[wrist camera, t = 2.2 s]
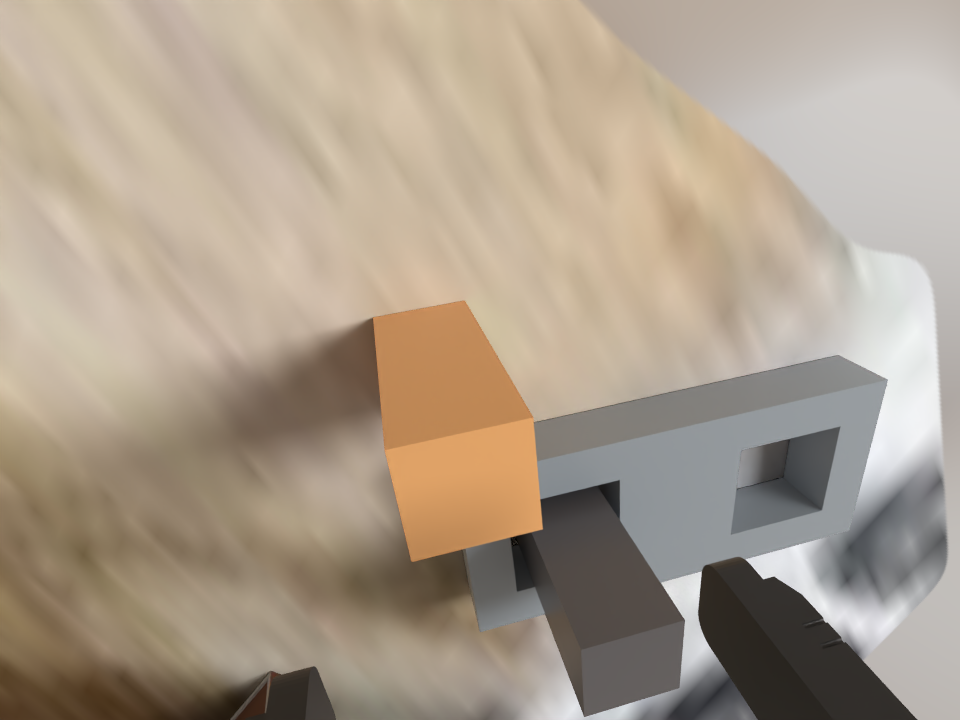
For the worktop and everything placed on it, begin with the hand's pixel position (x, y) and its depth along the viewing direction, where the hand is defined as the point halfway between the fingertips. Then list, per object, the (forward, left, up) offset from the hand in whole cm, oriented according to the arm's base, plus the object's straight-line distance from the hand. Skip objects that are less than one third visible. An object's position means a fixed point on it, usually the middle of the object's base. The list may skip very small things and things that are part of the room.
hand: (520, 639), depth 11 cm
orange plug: (0, 0, -15) cm, 15 cm away
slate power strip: (+11, -10, -15) cm, 21 cm away
